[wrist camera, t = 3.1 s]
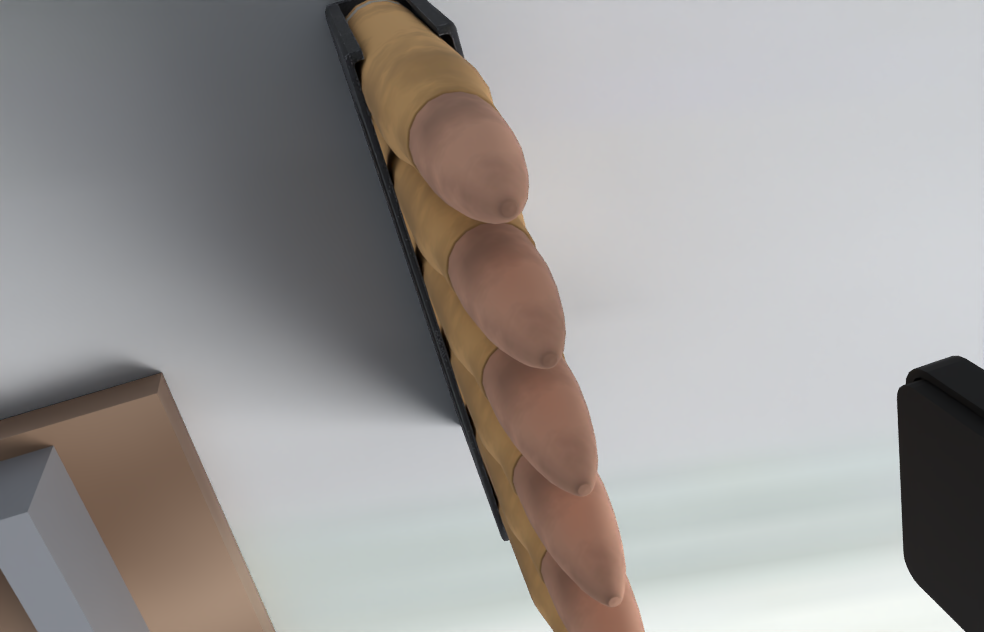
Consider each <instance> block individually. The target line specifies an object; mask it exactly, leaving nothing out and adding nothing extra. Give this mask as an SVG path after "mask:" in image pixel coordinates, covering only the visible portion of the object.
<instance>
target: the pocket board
mask: <svg viewBox="0 0 984 632" xmlns="http://www.w3.org/2000/svg"><path fill="white" fill-rule="evenodd" d="M0 632H275V630H274V627H273V625H272V623H271V620H270V618H269V616H268V614H267V611H266V609H265V607H264V604H263V602H262V600H261V598H260V595H259V593H258V591H257V588H256V586H255V584H254V582H253V579H252V577H251V575H250V572H249V570H248V568H247V566H246V563H245V561H244V559H243V557H242V554H241V552H240V550H239V547H238V545H237V543H236V541H235V538H234V536H233V534H232V531H231V529H230V527H229V525H228V522H227V520H226V518H225V515H224V513H223V511H222V509H221V506H220V504H219V502H218V499H217V497H216V495H215V493H214V490H213V488H212V486H211V484H210V481H209V479H208V477H207V474H206V472H205V470H204V468H203V465H202V463H201V461H200V458H199V456H198V454H197V452H196V449H195V447H194V445H193V442H192V440H191V438H190V436H189V433H188V431H187V429H186V426H185V424H184V422H183V420H182V417H181V415H180V413H179V410H178V408H177V406H176V404H175V401H174V399H173V397H172V395H171V392H170V390H169V388H168V385H167V383H166V381H165V379H164V376H163V374H162V373H159V374H155V375H152V376H148V377H145V378H142V379H138V380H135V381H132V382H128V383H125V384H121V385H118V386H115V387H111V388H108V389H104V390H101V391H98V392H94V393H91V394H88V395H84V396H81V397H77V398H74V399H71V400H67V401H64V402H60V403H57V404H54V405H50V406H47V407H43V408H40V409H37V410H33V411H30V412H27V413H23V414H20V415H16V416H13V417H10V418H6V419H3V420H0Z"/></svg>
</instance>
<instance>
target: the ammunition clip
mask: <svg viewBox="0 0 984 632" xmlns="http://www.w3.org/2000/svg"><path fill="white" fill-rule="evenodd" d="M325 14H326V19H327V22H328V25H329V28H330V31H331V34H332V37H333V40H334V43H335V46H336V49H337V52H338V55H339V59H340V62H341V65H342V68H343V71H344V74H345V77H346V80H347V83H348V86H349V89H350V92H351V95H352V98H353V101H354V104H355V107H356V110H357V113H358V116H359V119H360V122H361V125H362V128H363V131H364V134H365V137H366V140H367V143H368V146H369V149H370V152H371V155H372V158H373V161H374V164H375V167H376V170H377V173H378V176H379V179H380V182H381V185H382V188H383V191H384V194H385V198H386V201H387V204H388V207H389V210H390V213H391V216H392V219H393V222H394V225H395V228H396V231H397V234H398V237H399V240H400V243H401V246H402V249H403V252H404V255H405V258H406V261H407V264H408V267H409V270H410V273H411V276H412V279H413V282H414V285H415V288H416V291H417V294H418V297H419V300H420V303H421V306H422V309H423V312H424V315H425V318H426V321H427V324H428V327H429V330H430V333H431V337H432V340H433V343H434V346H435V349H436V352H437V355H438V358H439V361H440V364H441V367H442V370H443V373H444V376H445V379H446V382H447V385H448V388H449V391H450V394H451V397H452V400H453V403H454V406H455V409H456V412H457V415H458V418H459V421H460V424H461V427H462V430H463V432H464V435H465V438H466V441H467V444H468V446H469V449H470V452H471V455H472V457H473V460H474V463H475V466H476V468H477V471H478V474H479V477H480V479H481V482H482V485H483V488H484V490H485V493H486V496H487V499H488V501H489V504H490V507H491V510H492V512H493V515H494V518H495V521H496V523H497V526H498V529H499V532H500V535H501V537H502V539H503V540H504V541H508V540H510V543H511V545H512V548H513V551H514V553H515V556H516V559H517V561H518V564H519V566H520V569H521V572H522V574H523V577H524V580H525V582H526V585H527V587H528V590H529V593H530V595H531V598H532V600H533V602H534V604H535V606H536V607H537V609H538V610H539V612H540V613H541V614H542V616H543V617H544V619H545V620H546V621H547V623H548V624H549V625H550V627H551V628H552V629H553V632H645V631H644V627H643V623H642V619H641V615H640V612H639V608H638V605H637V603H636V600H635V597H634V594H633V591H632V588H631V586H630V583H629V580H628V578H627V576H626V565H625V559H624V552H623V545H622V541H621V536H620V532H619V529H618V525H617V521H616V517H615V514H614V511H613V508H612V505H611V503H610V500H609V497H608V494H607V492H606V489H605V487H604V484H603V482H602V480H601V478H600V476H599V474H598V473H597V466H598V455H597V448H596V440H595V435H594V430H593V426H592V422H591V419H590V415H589V411H588V408H587V405H586V402H585V400H584V397H583V395H582V392H581V389H580V387H579V385H578V382H577V380H576V379H575V377H574V375H573V373H572V372H571V370H570V368H569V367H568V365H567V363H566V361H565V358H564V354H563V351H564V344H565V335H566V330H565V319H564V313H563V308H562V304H561V301H560V297H559V293H558V289H557V286H556V284H555V282H554V279H553V277H552V274H551V272H550V270H549V268H548V266H547V264H546V262H545V261H544V259H543V258H542V257H541V255H540V254H539V252H538V251H537V249H536V246H535V243H534V241H533V239H532V237H531V236H530V234H529V232H528V231H527V229H526V228H525V223H524V219H523V215H522V211H523V209H524V206H525V204H526V202H527V199H528V188H529V182H528V171H527V167H526V163H525V159H524V155H523V152H522V148H521V146H520V144H519V142H518V140H517V138H516V136H515V135H514V133H513V131H512V130H511V129H510V127H509V126H508V124H507V123H506V121H505V120H504V119H503V117H502V116H501V115H500V113H499V112H498V110H497V109H496V108H495V106H494V105H493V101H492V97H491V93H490V90H489V87H488V86H487V84H486V83H485V81H484V80H483V78H482V77H481V76H480V74H479V73H478V71H477V70H476V69H475V68H474V67H473V66H472V65H471V64H470V63H469V62H468V61H467V60H465V59H464V55H463V52H462V48H461V44H460V41H459V37H458V33H457V29H456V26H455V25H454V23H453V22H452V21H450V20H449V19H448V18H447V17H446V16H445V15H443V14H442V13H441V12H440V11H439V10H438V9H436V8H435V7H434V6H433V5H432V4H431V3H429V2H428V1H427V0H344V1H341V2H337V3H334V4H331V5H328V6H327V7H326V11H325Z"/></svg>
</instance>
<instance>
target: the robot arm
mask: <svg viewBox="0 0 984 632" xmlns="http://www.w3.org/2000/svg"><path fill="white" fill-rule="evenodd" d="M897 409H898V433H899V457H900V480H901V504H902V528H903V551H904V559H905V562H906V565H907V568H908V570H909V572H910V574H911V575H912V577H913V579H914V580H915V581H916V583H917V584H918V585H919V586H920V587H921V588H922V589H923V590H924V591H925V592H926V593H927V594H928V595H929V596H930V597H931V598H932V599H933V600H934V601H935V602H936V603H937V604H938V605H939V606H940V607H941V608H942V609H943V610H944V611H945V612H946V613H947V614H948V615H949V616H950V617H951V618H952V619H953V620H954V621H955V622H956V623H957V624H958V625H959V626H960V627H961V628H962V629H963V630H964V631H965V632H984V370H983V369H982V368H980V367H978V366H977V365H975V364H974V363H972V362H970V361H969V360H967V359H965V358H963V357H960V356H951V357H948V358H945V359H942V360H939V361H936V362H933V363H930V364H927V365H924V366H921V367H919V368H916V369H913V370H912V371H910V372H909V374H908V376H907V378H906V385H903V386H901V387H900V388H899V390H898V393H897Z"/></svg>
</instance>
